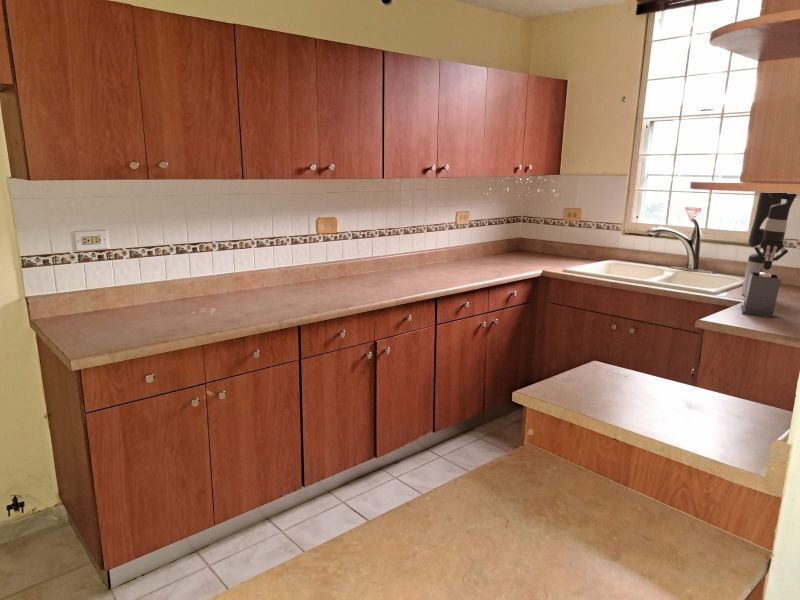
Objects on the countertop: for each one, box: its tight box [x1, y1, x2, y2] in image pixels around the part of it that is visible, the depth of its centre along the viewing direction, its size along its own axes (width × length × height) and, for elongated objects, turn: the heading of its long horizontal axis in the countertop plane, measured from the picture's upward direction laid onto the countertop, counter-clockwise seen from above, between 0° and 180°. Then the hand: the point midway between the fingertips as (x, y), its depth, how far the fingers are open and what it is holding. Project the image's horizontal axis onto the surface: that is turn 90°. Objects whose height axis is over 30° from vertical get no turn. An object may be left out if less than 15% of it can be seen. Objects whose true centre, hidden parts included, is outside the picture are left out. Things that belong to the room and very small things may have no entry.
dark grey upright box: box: [740, 272, 782, 319], centre depth 254 cm, size 12×12×17 cm
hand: (766, 269), depth 251 cm, fingers closed
